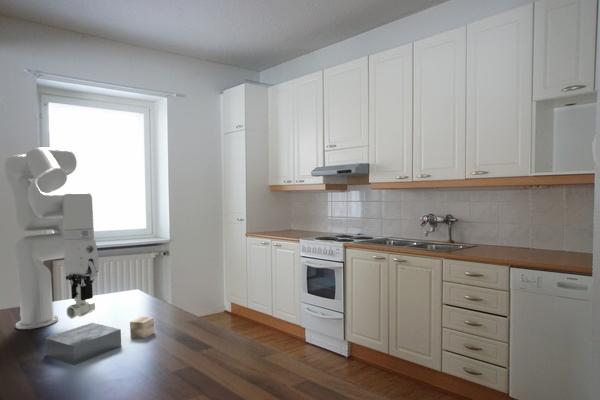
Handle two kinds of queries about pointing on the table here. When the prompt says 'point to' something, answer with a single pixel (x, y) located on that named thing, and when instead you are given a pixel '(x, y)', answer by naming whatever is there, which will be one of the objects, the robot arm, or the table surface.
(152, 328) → the pale wood block
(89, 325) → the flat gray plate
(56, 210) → the robot arm
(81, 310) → the valve
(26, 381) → the table surface
